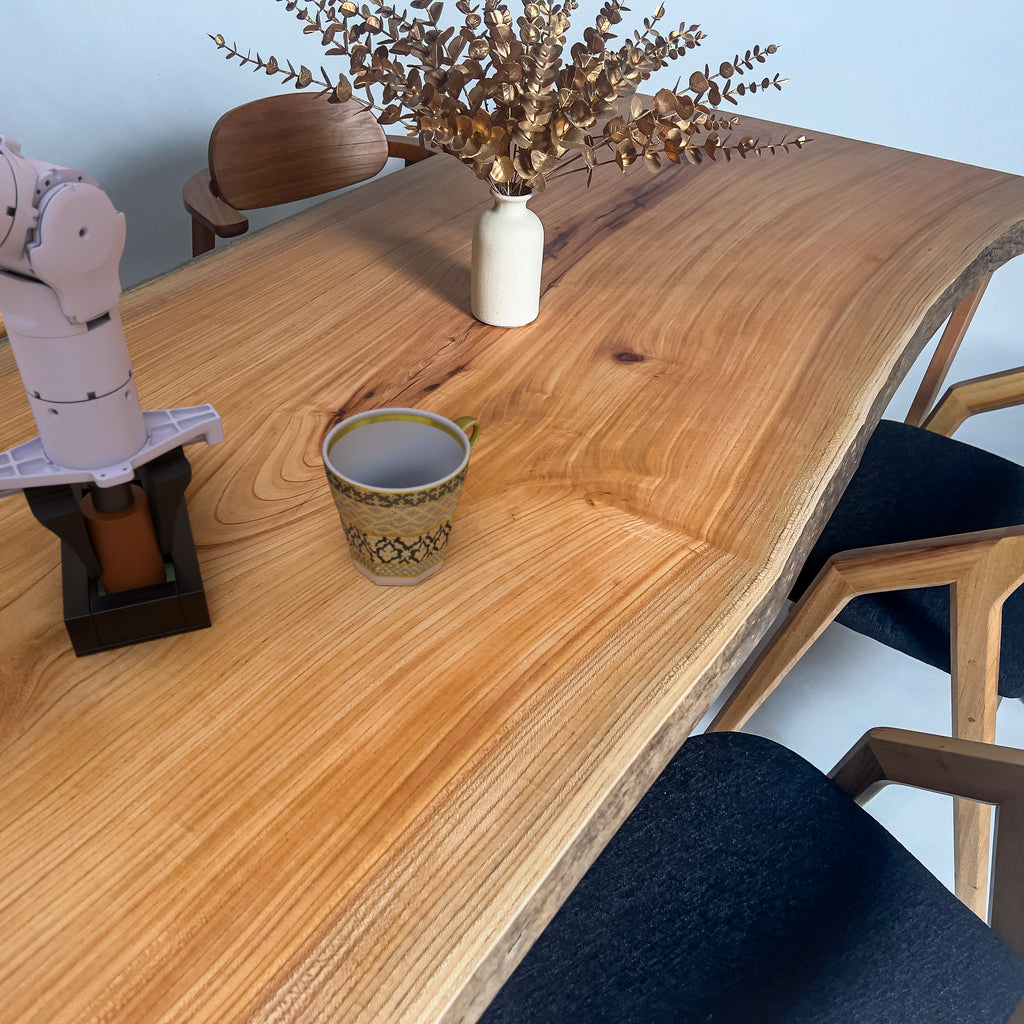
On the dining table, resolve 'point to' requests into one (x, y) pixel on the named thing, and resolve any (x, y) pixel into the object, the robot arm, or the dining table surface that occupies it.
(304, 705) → the dining table surface
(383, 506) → the ceramic cup
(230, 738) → the dining table surface
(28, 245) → the robot arm
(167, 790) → the dining table surface
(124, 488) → the spice bottle
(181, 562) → the holder
